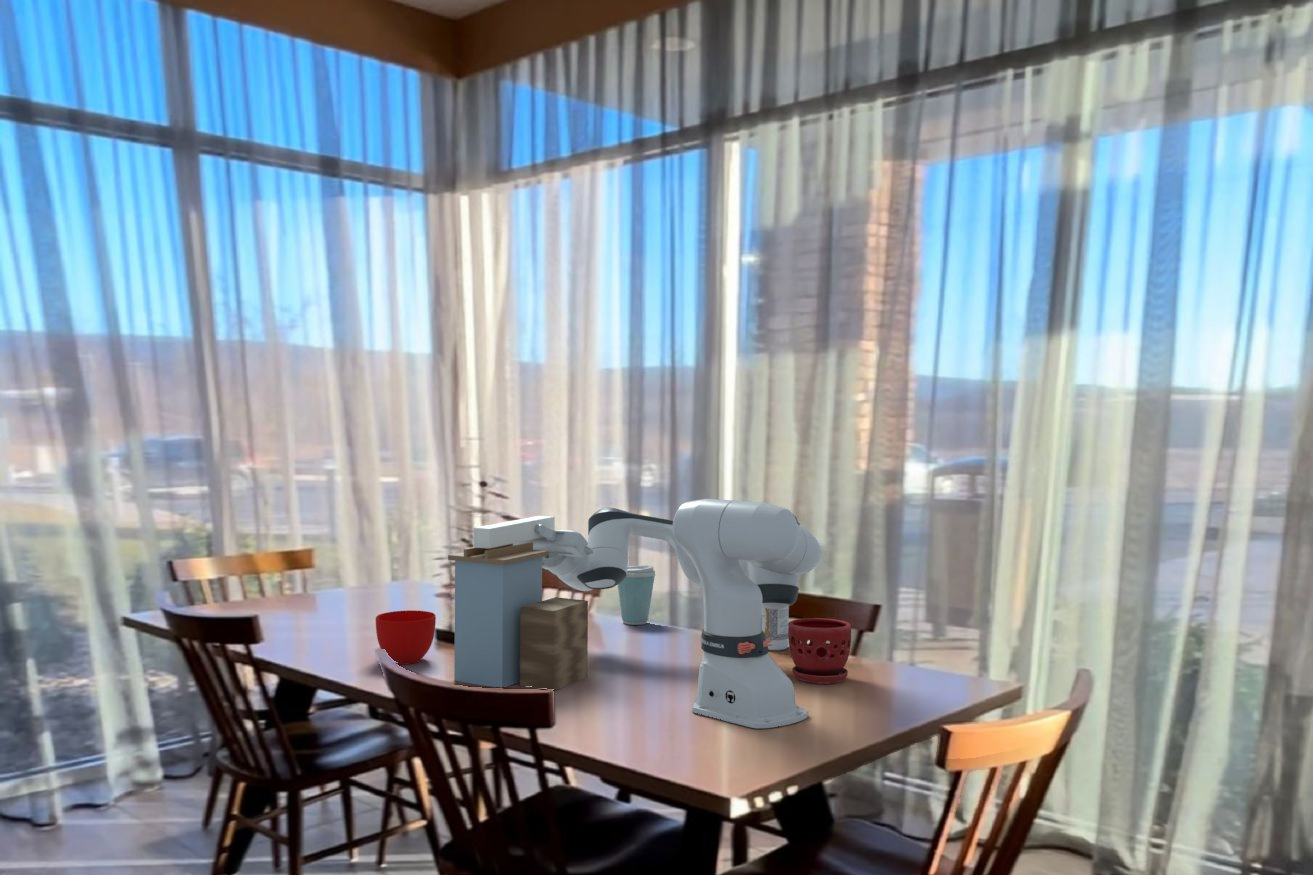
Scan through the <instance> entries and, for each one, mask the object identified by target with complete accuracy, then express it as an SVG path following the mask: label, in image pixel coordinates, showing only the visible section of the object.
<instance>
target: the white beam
mask: <svg viewBox="0 0 1313 875" xmlns="http://www.w3.org/2000/svg"><path fill="white" fill-rule="evenodd" d="M555 518H556V517H555V516H552V515H551V516H549V515H536V516H530V517H526V518H519V519H513V520H509V521H503V522H497V523H492V524H487V525H482V526H481V525H480V526H476V527H472V528H473V529H472V530H473V536H472V537H473V547H477V548H489V549H490V548H494V547H499V546H504V545H508V544H513V543H518V542H522V541H527V540H531V539H536V538H541V537H544V536H542V535H539V534H537V533H536V532H534V529H535V526H536V524H538V525H543V526H544V527H546V528H549V529H552V530H556V528H555V524H556V522H555Z"/></svg>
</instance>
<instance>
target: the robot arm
mask: <svg viewBox="0 0 1313 875" xmlns="http://www.w3.org/2000/svg"><path fill="white" fill-rule="evenodd" d="M587 521H588V522H587V524H588V525H587V526H588V527H587V528H588V529H587V530H588V532H587V533H588V538H587V539H588V540H587V539H586V538H585V537H584V535H583V534H582V533H580V532H578V531H573V530H560V529H555V530H552V529H549V528H546V527H544V526H543V525H538V524H536V526H535V529H534V532H536V533H537V534H539V535H542V536H544V537H541V538H536V539H531V540H527V541H522V542H518V543H513V545H519V544H524V543H529V542H533V550H545V551H549V556H544V557H542V569H544V570H548V571H549V572H551V573H552V574H553V575H555V576H556V577H557V578H558V579H559V580H560V581H562V582H563V583H564V584H566V585H568V586H569V587H571V588H572V589H575V590H578V591H581V592H582V591H583V592H589V591H592V590H607V589H608V590H609V589H612V588H614V587H616V586H618V584H619V583H621V582H622V581H623V580H624V579H625V578H626V576H627V567H629V566H628V564H629V549H630V548H629V547H630V538H631V537H632V536H638V537H643V538H644V537H645V538H649V539H650V538H651V539H656V540H661V541H665V542H667V543H669V544H670V545H671V546H672V548H673V549H674V551H675V553H676V556H677V558H678V561H679V564H680V568H681V569H682V572H683V573H684V575H685V576H686V578H687V579H688V580H689V581H690V582H691V583H693V584H694V585H696V586H697V587H701V588H702V599H703V629H702V630H701V637H700V642H701V644H700V645H701V647H700V648H701V650H702V651H703V653H702V659H701V662H700V666H699V669H698V678H697V688H696V695H695V696H696V697H695V699H694V702H693V705H692V708H691V709H692V710H691V712H692V713H694V714H697V713H698V715H701V714H702V716H706V717H708V716H709V718H712V717H713V719H716V718H717V720H720V719H721V721H725V722H727V723H732V724H734V725H735V724H736V725H739V726H744V727H748V728H751V729H770V728H771V729H772V728H778V726H779V727H784V726H789V725H792V724H795V723H798V722H801V721H803V720H805V719H807V718H808V717H809V710H808V709H806V708H803V707H801V706H799V705H797V704H796V691H795V687H794V683H793V682H792V680H791V679H790V678H789V677H788V676H787V674H786V673H785V672H784V671H783V670H782V668H781V667H780V666H779V665H778V664H777V662H776V661H775V660H774V658H773V657H771V655H770V654H769V651H770V650H769V649H768V646H772V644H768V643H770V642H772V641H773V640H766V638H765V634H764V632H763V631H762V607H764V608H767V609H773V610H777V609H782V608H785V607H787V606H789V607H791V606H793V605H794V604H795V603H796V602H797V600H798V596H799V590H800V588H799V586H798V585H799V578H800V576H801V575H805V574H807V573H810V572H811V571H813V570H814V569H815V567H816V566H817V565H818V563H819V561H820V560H821V559H820V558H821V547H820V543H819V541H818V539H817V538H816V537H815V536H814V535H813V533H811V532H810V531H809V530H808V529H806V528H804V526H802V525H801V524H800V522H799V521H798V518H797V516H796V515H795V514H794V513H792V510H789V509H788V508H786V507H782V506H778V505H775V504H772V503H767V502H760V501H759V502H758V501H747V500H746V501H744V500H731V499H729V500H728V499H718V498H717V499H716V498H715V499H714V498H702V499H695V500H691V501H686V502H683V503H682V504H681V505H680V506H679V508H678V509H677V510H676V511H675V514H674V517H673V519H667V518H660V517H656V516H655V517H654V516H648V515H644V514H638V513H633V512H629V511H626V510H623V509H620V508H615V507H602V508H600V509H598V510H597V511H596V512H594V513H593V514H592V515H591V516H590V517H589V519H588V520H587ZM799 575H800V576H799ZM767 644H768V645H767Z"/></svg>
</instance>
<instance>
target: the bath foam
mask: <svg viewBox="0 0 1313 875" xmlns="http://www.w3.org/2000/svg"><path fill="white" fill-rule="evenodd" d="M789 610H790V606H787V607H785V608H782V609H777V610H773V609H767V608H764V607H762V631H763V632H764V634H765V638H766V640H773V641H772V642H770V643H768V644H772V646H768V649H769V651H784V650H786V649H788V648H789V639H788V624H789V622H790V621H789V617H790V615H789V614H790V613H789ZM768 644H767V645H768Z"/></svg>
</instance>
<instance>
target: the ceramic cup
mask: <svg viewBox="0 0 1313 875" xmlns="http://www.w3.org/2000/svg"><path fill="white" fill-rule="evenodd" d="M436 616H437V615H436V614H435V613H434V612H430V611H425V610H413V609H412V610H411V609H410V610H409V609H408V610H395V611H388V612H384V613H383V612H382V613H380V614H378V615H376V616H375V631H376V638H377V642H378V645H379V646H378V647H379V648H380V650H381V649H385V650H386V652H387V653H388V655H389V656H390V657H391V658H392V659H393V660H394V661H396V662H398V664H397V665H410V664H411V665H412V664H416V663H419V662H421V661H422V660H423V658H424V657H425V656H426V655H427V653H428V652H429V650H430V649H431V646H432V645H433V641H434V637H435V633H436V620H437V617H436Z"/></svg>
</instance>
